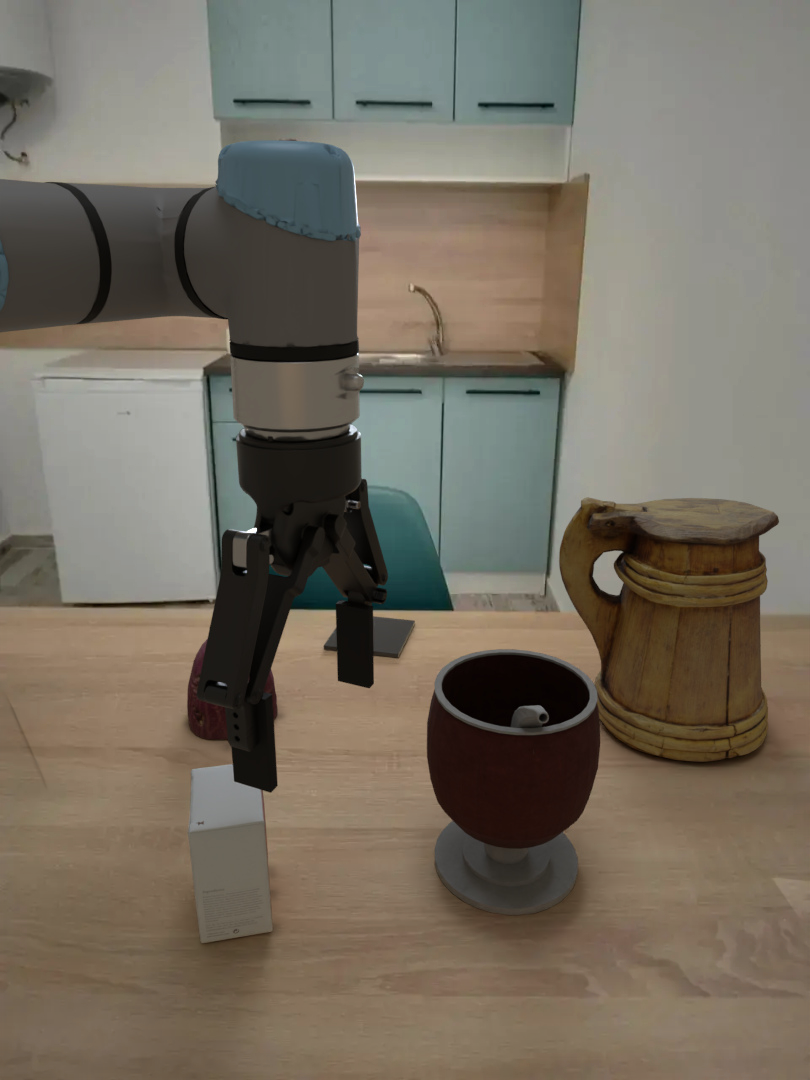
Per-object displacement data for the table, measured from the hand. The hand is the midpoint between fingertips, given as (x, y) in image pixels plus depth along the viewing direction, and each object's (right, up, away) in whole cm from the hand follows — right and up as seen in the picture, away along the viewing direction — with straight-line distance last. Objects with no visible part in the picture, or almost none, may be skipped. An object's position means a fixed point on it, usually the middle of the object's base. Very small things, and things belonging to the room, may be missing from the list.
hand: (310, 728), depth 57 cm
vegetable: (-13, -7, +36) cm, 39 cm away
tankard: (+35, -7, +36) cm, 50 cm away
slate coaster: (+2, 0, +54) cm, 54 cm away
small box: (-7, -16, +10) cm, 20 cm away
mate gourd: (+15, -15, +13) cm, 25 cm away
